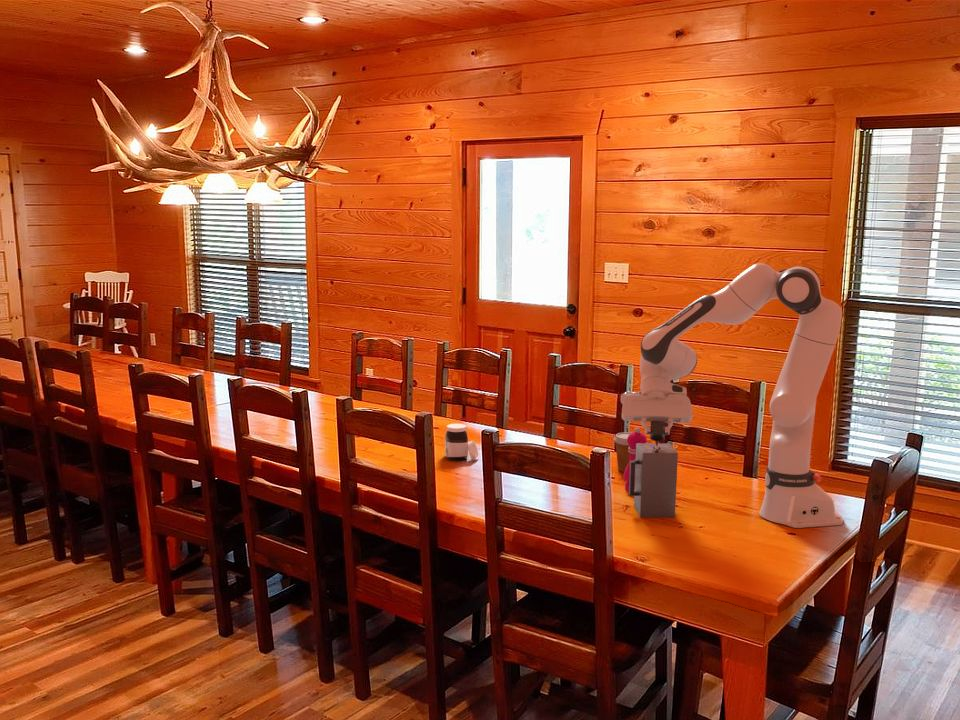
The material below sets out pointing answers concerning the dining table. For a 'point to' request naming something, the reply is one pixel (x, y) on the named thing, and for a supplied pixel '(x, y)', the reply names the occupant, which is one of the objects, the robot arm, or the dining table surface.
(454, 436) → the spread jar
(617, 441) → the disposable coffee cup
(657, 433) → the press plunger
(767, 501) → the robot arm
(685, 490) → the dining table surface
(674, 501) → the tall grey box
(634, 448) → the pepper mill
